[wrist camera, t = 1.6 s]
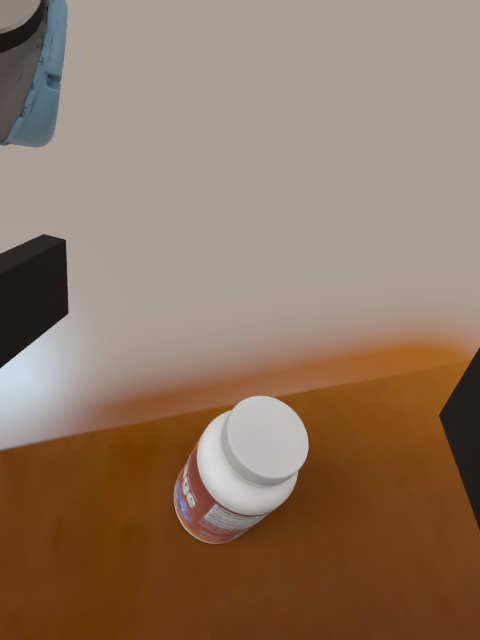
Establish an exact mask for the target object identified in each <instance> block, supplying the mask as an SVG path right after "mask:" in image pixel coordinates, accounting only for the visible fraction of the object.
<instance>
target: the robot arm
mask: <svg viewBox="0 0 480 640" xmlns="http://www.w3.org/2000/svg"><path fill="white" fill-rule="evenodd" d="M66 28H67V4H66V2H65V0H0V145H3V146H4V145H9V144H14V145H22V146H28V147H42V146H45V145H46V144H47V143H49V142H50V140H51V139H52V137H53V135H54V130H55V125H56V120H57V112H58V105H59V95H60V81H61V77H62V69H63V61H64V51H65V41H66ZM67 314H68V287H67V260H66V240H64V239H60V238H57V237H53V236H49V235H45V234H43V235H41V236H39V237H36V238H34V239H32V240H30V241H28V242H25V243H23V244H21V245H19V246H17V247H14V248H12V249H10V250H8V251H6V252H3V253H1V254H0V368H1V367H2V366H4V365H5V364H6V363H7V362H9V361H10V360H11V359H12V358H14V357H15V356H16V355H17V354H19V353H20V352H21V351H22V350H24V349H25V348H26V347H27V346H28V345H30V344H31V343H32V342H33V341H35V340H36V339H37V338H39V337H40V336H41V335H42V334H43V333H45V332H46V331H47V330H48V329H50V328H51V327H52V326H53V325H55V324H56V323H57V322H58V321H60V320H61V319H62V318H63V317H65V316H66V315H67ZM439 417H440V419H441V422H442V425H443V428H444V431H445V434H446V436H447V439H448V442H449V445H450V448H451V450H452V453H453V456H454V459H455V462H456V465H457V467H458V470H459V473H460V476H461V479H462V481H463V484H464V487H465V490H466V493H467V496H468V498H469V501H470V504H471V507H472V510H473V512H474V515H475V518H476V521H477V524H478V527H479V529H480V348H479V349H478V351H477V353H476V354H475V356H474V358H473V359H472V361H471V363H470V364H469V366H468V368H467V369H466V371H465V373H464V374H463V376H462V378H461V379H460V381H459V383H458V384H457V386H456V388H455V389H454V391H453V393H452V394H451V396H450V398H449V399H448V401H447V403H446V404H445V406H444V408H443V409H442V411H441V413H440V414H439Z"/></svg>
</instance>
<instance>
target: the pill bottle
mask: <svg viewBox="0 0 480 640" xmlns="http://www.w3.org/2000/svg"><path fill="white" fill-rule="evenodd" d="M307 453H308V436H307V433H306V429H305V427H304V425H303V423H302V421H301V419H300V418H299V416H298V415H297V414H296V413H295V412H294V411H293V410H292V409H291V408H290V407H289V406H288V405H286V404H285V403H283V402H281V401H280V400H277V399H275V398H272V397H268V396H253V397H250V398H247V399H245V400H243V401H241V402H240V403H238V404H237V405H236V406H235V407H234V409H233V410H230V411H227V412H225V413H223V414H221V415H220V416H218V417H217V418H215V419H214V420H213V421H212V422H211V423H210V424H209V425H208V427H207V428H206V429H205V431H204V432H203V434H202V436H201V437H200V439H199V441H198V443H197V444H196V446H195V448H194V450H193V451H192V453H191V455H190V456H189V458H188V460H187V462H186V463H185V465H184V467H183V468H182V470H181V472H180V474H179V476H178V478H177V481H176V484H175V488H174V505H175V509H176V513H177V516H178V518H179V520H180V522H181V524H182V525H183V526H184V528H185V529H186V530H187V531H188V532H189V533H190V534H191V535H192V536H194V537H195V538H197V539H199V540H201V541H203V542H207V543H212V544H221V543H226V542H230V541H232V540H234V539H236V538H238V537H239V536H241V535H242V534H243V533H245V532H246V531H247V530H248V529H250V528H251V527H252V526H254V525H255V524H256V523H258V522H259V521H260V520H262V519H263V518H264V517H265V516H267V515H268V514H269V513H271V512H272V511H273V510H275V509H276V508H277V507H278V506H280V505H281V504H282V503H283V502H284V501H285V500H286V499H287V498H288V497H289V495H290V494H291V492H292V490H293V488H294V486H295V484H296V480H297V476H298V470H299V469H300V468H301V467H302V465H303V464H304V462H305V460H306V457H307Z"/></svg>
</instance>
